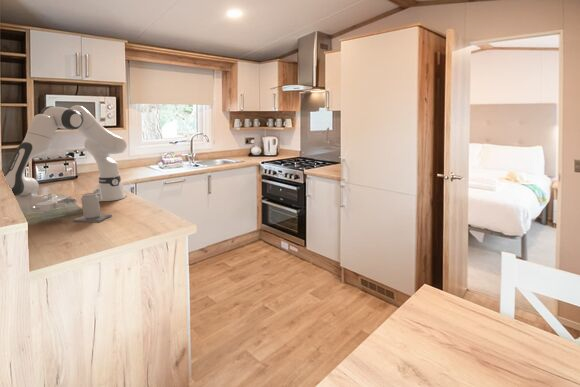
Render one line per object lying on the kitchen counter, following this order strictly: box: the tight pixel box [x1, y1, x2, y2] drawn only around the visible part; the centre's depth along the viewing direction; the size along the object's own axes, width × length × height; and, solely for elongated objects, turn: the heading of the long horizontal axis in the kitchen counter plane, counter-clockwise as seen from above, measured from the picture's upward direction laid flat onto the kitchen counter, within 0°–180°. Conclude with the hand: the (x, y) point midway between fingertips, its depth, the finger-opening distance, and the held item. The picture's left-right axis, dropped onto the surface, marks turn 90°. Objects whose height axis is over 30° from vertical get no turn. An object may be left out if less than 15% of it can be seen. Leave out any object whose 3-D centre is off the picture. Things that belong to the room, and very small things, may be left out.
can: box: [80, 192, 101, 219], centre depth 178 cm, size 8×8×12 cm
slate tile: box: [72, 214, 113, 223], centre depth 179 cm, size 14×10×1 cm
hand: (71, 202), depth 177 cm, fingers open, 8 cm apart
